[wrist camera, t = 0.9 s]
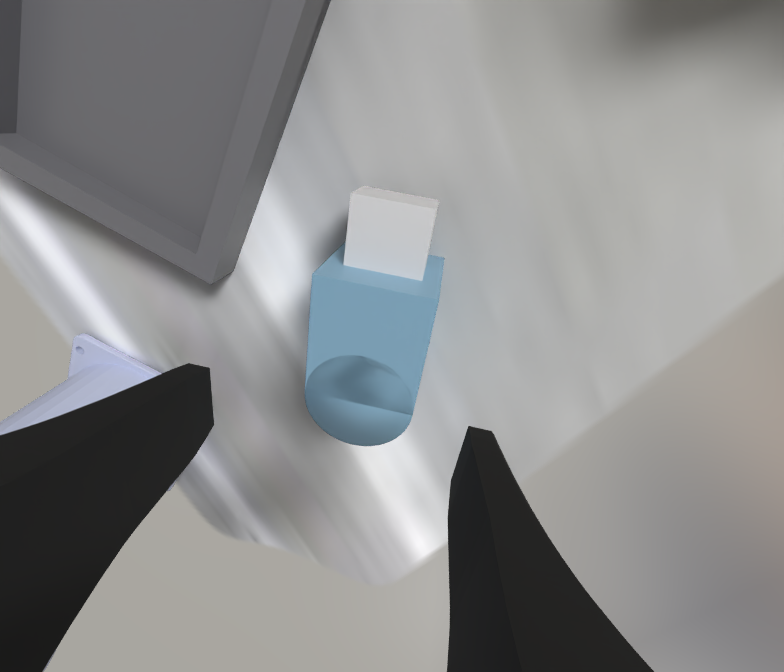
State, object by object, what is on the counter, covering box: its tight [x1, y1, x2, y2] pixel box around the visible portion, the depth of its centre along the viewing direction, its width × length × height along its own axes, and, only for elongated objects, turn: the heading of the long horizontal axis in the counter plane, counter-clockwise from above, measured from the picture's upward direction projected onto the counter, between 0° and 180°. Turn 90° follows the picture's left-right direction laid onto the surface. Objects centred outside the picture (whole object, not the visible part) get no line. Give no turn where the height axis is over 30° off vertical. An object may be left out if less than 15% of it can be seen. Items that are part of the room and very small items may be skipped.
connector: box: [305, 186, 444, 446], centre depth 17 cm, size 10×4×5 cm, turn 171°
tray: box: [0, 0, 330, 284], centre depth 15 cm, size 16×12×2 cm
